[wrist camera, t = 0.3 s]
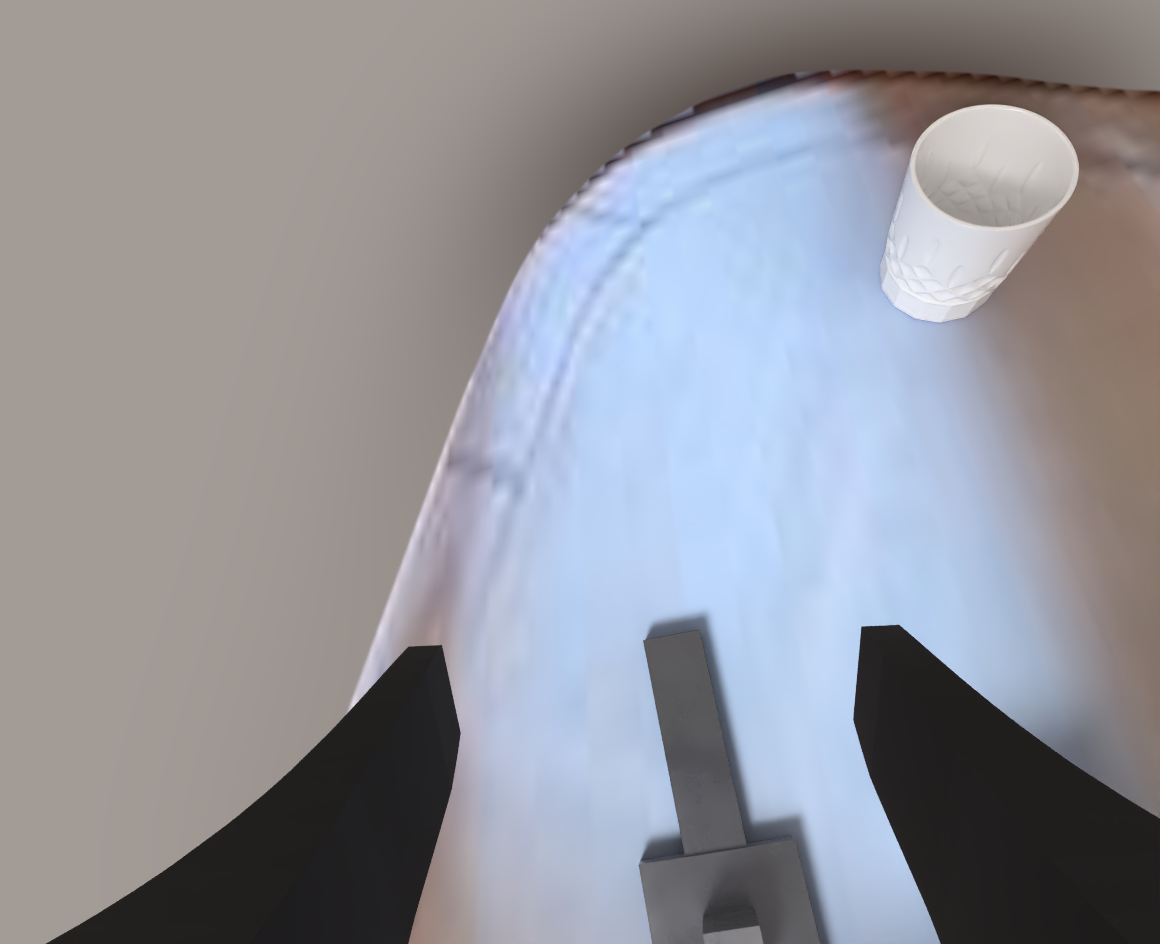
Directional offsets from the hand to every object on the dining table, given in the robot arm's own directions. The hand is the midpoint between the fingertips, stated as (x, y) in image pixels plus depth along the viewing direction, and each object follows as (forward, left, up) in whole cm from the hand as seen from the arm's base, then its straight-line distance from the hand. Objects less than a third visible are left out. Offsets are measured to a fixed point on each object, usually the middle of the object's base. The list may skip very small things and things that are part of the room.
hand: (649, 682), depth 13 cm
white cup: (+23, -21, -30) cm, 43 cm away
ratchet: (-6, 0, -30) cm, 30 cm away
